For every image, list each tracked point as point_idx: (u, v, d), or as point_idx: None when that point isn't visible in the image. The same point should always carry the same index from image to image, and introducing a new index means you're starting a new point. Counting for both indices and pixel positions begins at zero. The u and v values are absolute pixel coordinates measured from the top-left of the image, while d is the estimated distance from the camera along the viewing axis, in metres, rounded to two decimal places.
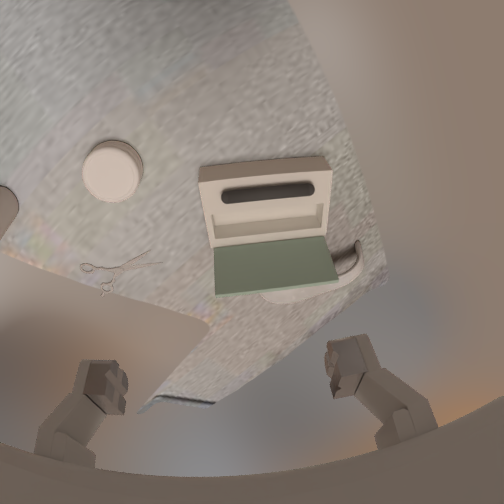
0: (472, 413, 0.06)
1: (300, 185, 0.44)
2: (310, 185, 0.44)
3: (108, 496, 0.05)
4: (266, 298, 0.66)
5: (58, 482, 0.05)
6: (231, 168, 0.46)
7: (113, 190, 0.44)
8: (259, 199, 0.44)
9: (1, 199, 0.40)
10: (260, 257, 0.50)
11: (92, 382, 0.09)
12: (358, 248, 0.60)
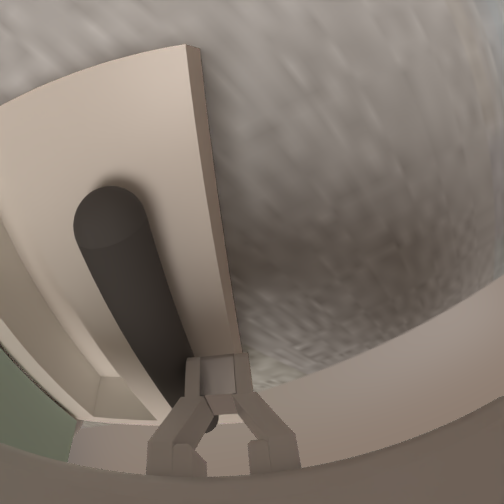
0: (472, 413, 0.06)
1: None
2: (217, 422, 0.14)
3: (108, 496, 0.05)
4: None
5: (58, 482, 0.05)
6: (212, 179, 0.11)
7: None
8: (143, 357, 0.09)
9: None
10: None
11: (209, 381, 0.09)
12: (77, 423, 0.25)
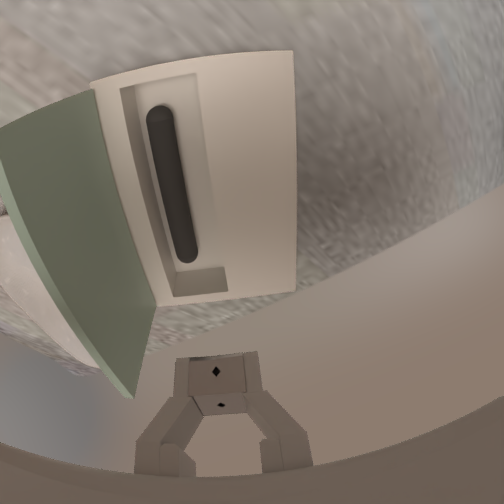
0: (472, 413, 0.06)
1: (194, 240, 0.26)
2: (197, 254, 0.27)
3: (108, 496, 0.05)
4: None
5: (58, 482, 0.05)
6: None
7: None
8: (163, 180, 0.22)
9: None
10: (100, 213, 0.17)
11: (198, 382, 0.09)
12: None
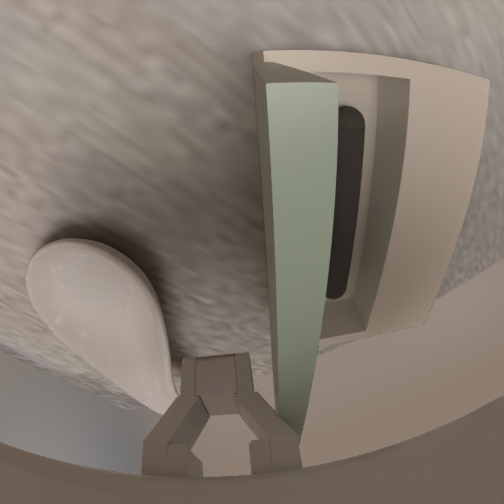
0: (472, 413, 0.06)
1: None
2: None
3: (108, 496, 0.05)
4: (33, 266, 0.18)
5: (58, 482, 0.05)
6: None
7: None
8: (356, 201, 0.17)
9: None
10: None
11: (205, 381, 0.09)
12: None
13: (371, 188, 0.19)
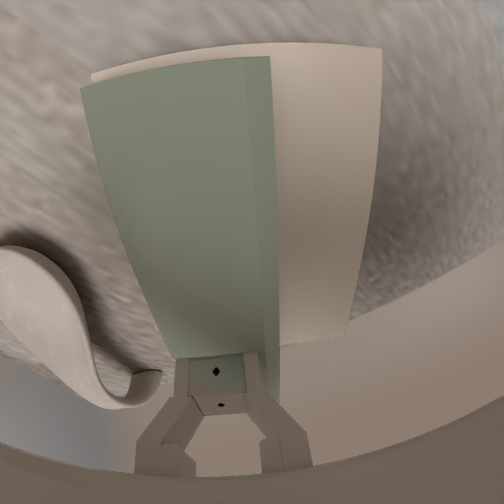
0: (472, 413, 0.06)
1: None
2: None
3: (108, 496, 0.05)
4: None
5: (58, 482, 0.05)
6: None
7: None
8: None
9: None
10: None
11: (198, 382, 0.09)
12: (155, 383, 0.31)
13: None
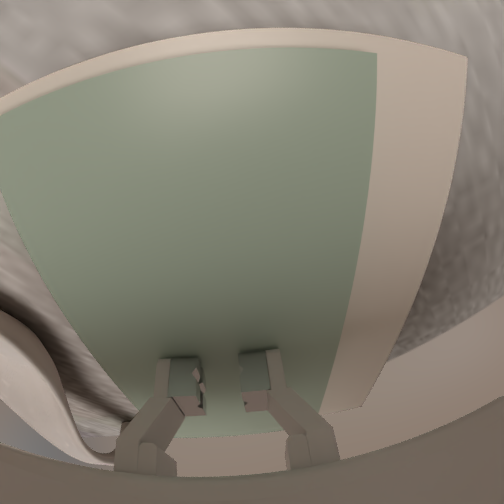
0: (472, 413, 0.06)
1: None
2: None
3: (108, 496, 0.05)
4: None
5: (58, 482, 0.05)
6: None
7: None
8: None
9: None
10: None
11: (178, 383, 0.09)
12: None
13: None
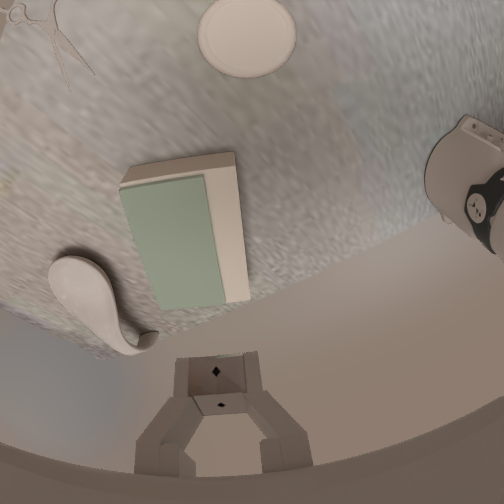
0: (472, 413, 0.06)
1: None
2: None
3: (108, 496, 0.05)
4: (52, 268, 0.39)
5: (58, 482, 0.05)
6: None
7: (222, 34, 0.24)
8: None
9: None
10: None
11: (198, 382, 0.09)
12: (154, 339, 0.52)
13: None
